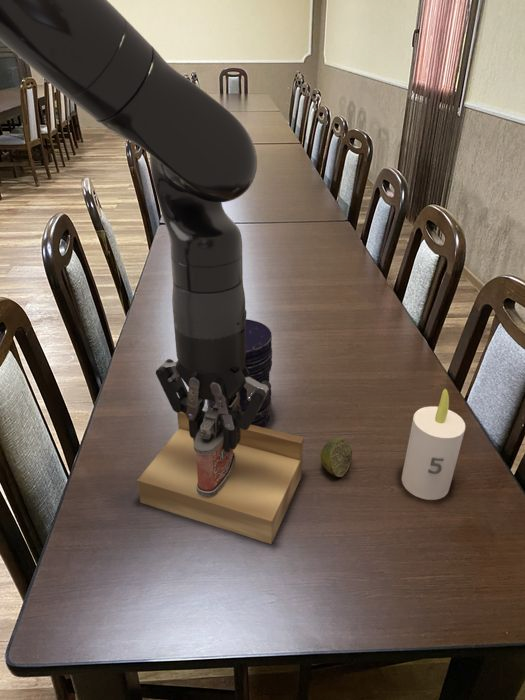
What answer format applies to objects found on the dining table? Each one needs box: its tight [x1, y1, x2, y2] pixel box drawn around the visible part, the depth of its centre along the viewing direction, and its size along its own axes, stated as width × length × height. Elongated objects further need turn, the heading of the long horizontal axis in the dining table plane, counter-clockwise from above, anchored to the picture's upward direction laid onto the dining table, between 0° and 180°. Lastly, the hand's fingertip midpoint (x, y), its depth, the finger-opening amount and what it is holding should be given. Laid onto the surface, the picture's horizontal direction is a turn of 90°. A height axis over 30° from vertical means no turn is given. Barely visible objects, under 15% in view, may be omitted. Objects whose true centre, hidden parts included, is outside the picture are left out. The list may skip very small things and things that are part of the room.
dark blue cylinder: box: [206, 318, 273, 428], centre depth 81 cm, size 10×10×15 cm
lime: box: [319, 437, 353, 478], centre depth 73 cm, size 4×5×5 cm
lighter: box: [194, 404, 235, 497], centre depth 65 cm, size 8×3×10 cm, turn 161°
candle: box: [401, 388, 466, 501], centre depth 69 cm, size 6×6×15 cm
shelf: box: [137, 412, 305, 545], centre depth 70 cm, size 12×18×7 cm, turn 69°
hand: (215, 443), depth 65 cm, fingers closed on lighter, 3 cm apart
